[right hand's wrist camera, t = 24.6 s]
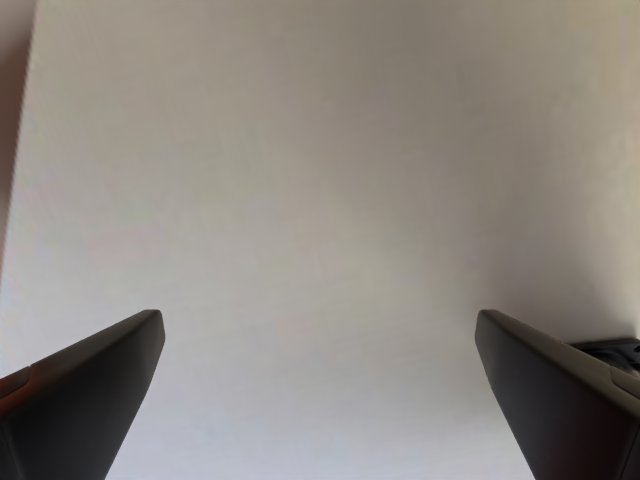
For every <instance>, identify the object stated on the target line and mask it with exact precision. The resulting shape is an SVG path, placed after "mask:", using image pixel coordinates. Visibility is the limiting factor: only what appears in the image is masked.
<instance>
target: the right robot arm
mask: <svg viewBox="0 0 640 480" xmlns="http://www.w3.org/2000/svg"><path fill="white" fill-rule="evenodd" d="M164 343H165V331H164V325H163V318H162V314H161V312H160V311H159V310H143V311H141V312H139V313H137V314H135V315H133V316H131V317H129V318H127V319H125V320H123V321H120V322H118V323H116V324H114V325H112V326H110V327H108V328H106V329H104V330H102V331H100V332H98V333H96V334H94V335H91V336H89V337H87V338H85V339H83V340H81V341H79V342H77V343H75V344H73V345H71V346H69V347H67V348H65V349H62V350H60V351H58V352H56V353H54V354H52V355H50V356H48V357H46V358H44V359H42V360H40V361H38V362H36V363H33V364H31V365H30V367H29V366H27V367H25V368H23V369H21V370H19V371H17V372H15V373H13V374H10V375H8V376H6V377H4V378H2V379H0V480H105V478H106V476H107V473H108V471H109V469H110V467H111V465H112V463H113V461H114V459H115V457H116V455H117V453H118V451H119V449H120V447H121V445H122V443H123V441H124V438H125V436H126V434H127V432H128V430H129V428H130V426H131V424H132V422H133V420H134V418H135V416H136V414H137V412H138V410H139V408H140V405H141V403H142V401H143V399H144V397H145V395H146V393H147V391H148V388H149V386H150V383H151V380H152V377H153V375H154V372H155V369H156V366H157V363H158V360H159V357H160V354H161V352H162V349H163V346H164ZM475 343H476V346H477V349H478V352H479V354H480V357H481V360H482V363H483V366H484V369H485V372H486V375H487V377H488V380H489V383H490V386H491V388H492V391H493V393H494V395H495V397H496V399H497V401H498V403H499V405H500V408H501V410H502V412H503V414H504V416H505V418H506V420H507V422H508V424H509V426H510V428H511V430H512V432H513V434H514V436H515V438H516V441H517V443H518V445H519V447H520V449H521V451H522V453H523V455H524V457H525V459H526V461H527V463H528V465H529V467H530V469H531V471H532V473H533V476H534V478H535V480H640V340H639V339H627V340H617V341H607V342H598V343H588V344H578V345H567V344H565V343H563V342H561V341H559V340H557V339H555V338H553V337H551V336H549V335H546V334H544V333H542V332H540V331H538V330H536V329H534V328H532V327H530V326H528V325H526V324H524V323H522V322H520V321H517V320H515V319H513V318H511V317H509V316H507V315H505V314H503V313H501V312H499V311H497V310H481V311H480V312H479V314H478V318H477V325H476V331H475ZM636 346H637V347H636ZM635 347H636V348H635Z"/></svg>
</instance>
